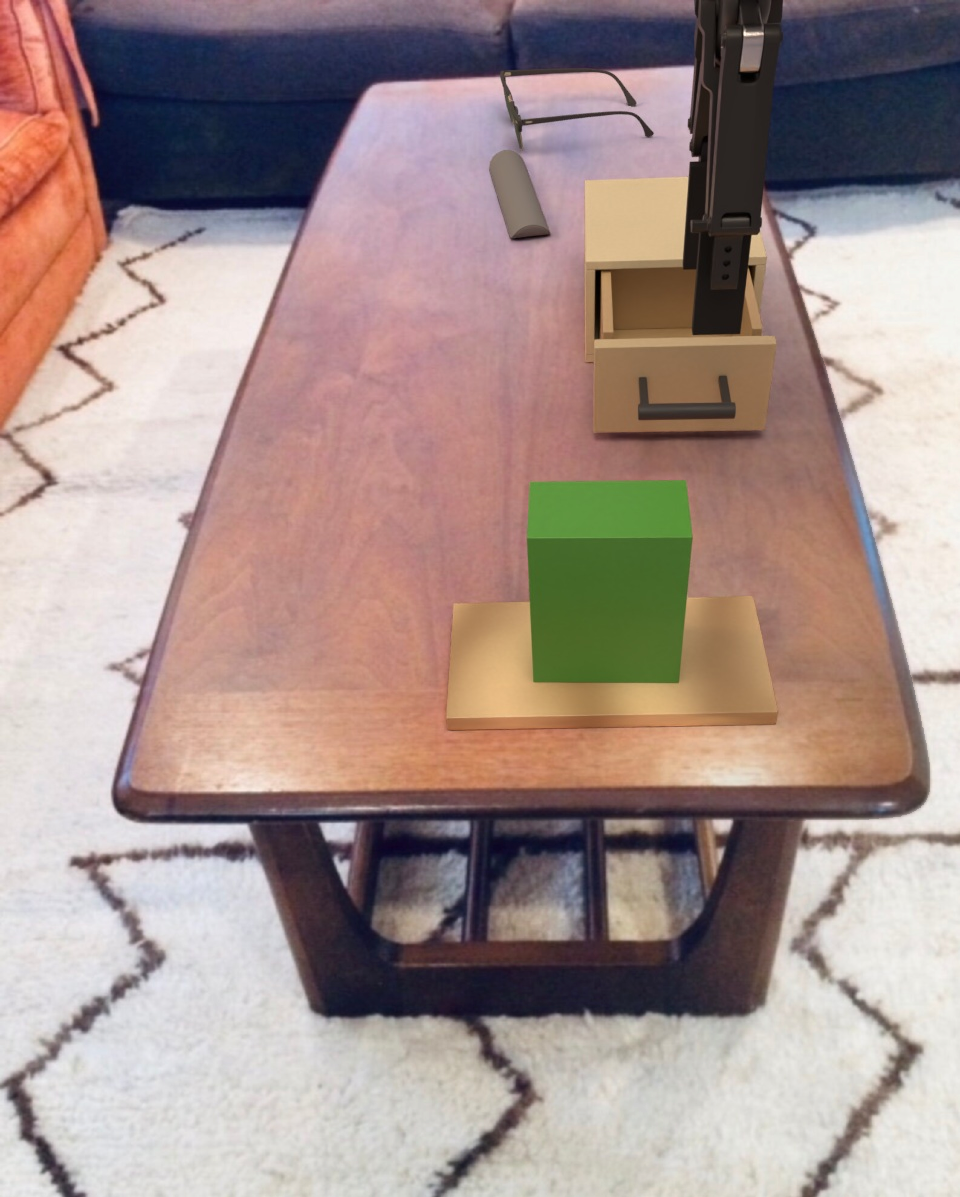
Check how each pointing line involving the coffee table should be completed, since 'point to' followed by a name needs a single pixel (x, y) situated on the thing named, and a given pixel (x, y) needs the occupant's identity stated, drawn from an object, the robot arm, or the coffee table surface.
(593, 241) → the cabinet
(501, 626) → the board
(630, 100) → the sunglasses
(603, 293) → the drawer
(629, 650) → the tall green block
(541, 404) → the coffee table surface
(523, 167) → the half round rod
